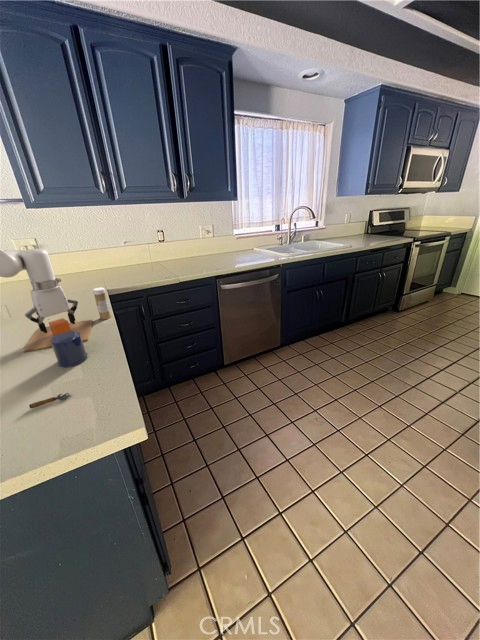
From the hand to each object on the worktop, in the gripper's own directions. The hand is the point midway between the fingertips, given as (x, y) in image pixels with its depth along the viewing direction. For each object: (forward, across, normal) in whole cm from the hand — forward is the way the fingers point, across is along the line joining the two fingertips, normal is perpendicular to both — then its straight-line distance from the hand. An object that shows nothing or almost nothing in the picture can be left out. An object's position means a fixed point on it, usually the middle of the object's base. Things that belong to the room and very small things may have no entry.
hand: (59, 327), depth 101 cm
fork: (+2, +18, +41) cm, 44 cm away
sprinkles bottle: (+3, -19, -2) cm, 19 cm away
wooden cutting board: (+3, 0, 0) cm, 3 cm away
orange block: (+3, 0, 0) cm, 3 cm away
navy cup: (+3, +5, +24) cm, 24 cm away
